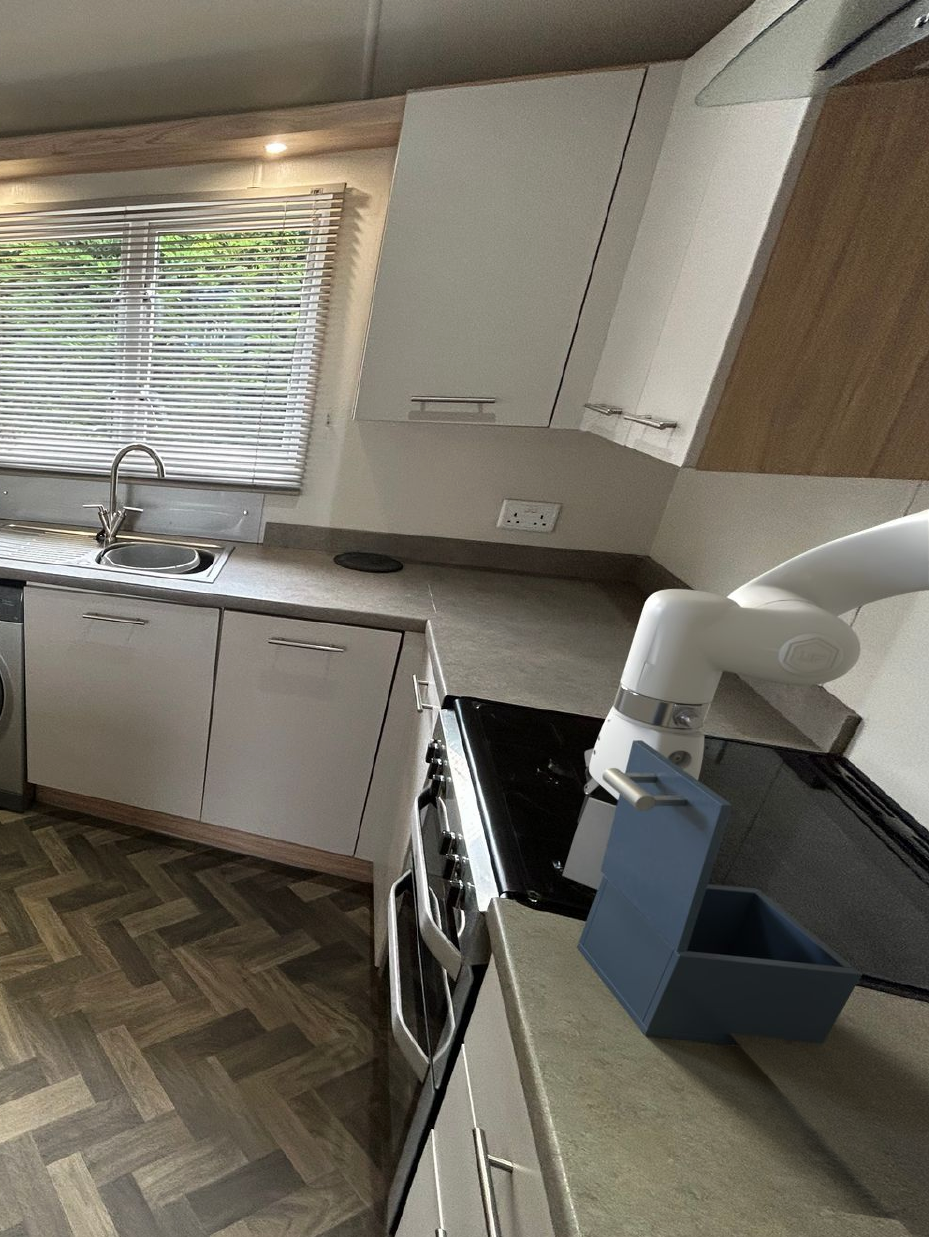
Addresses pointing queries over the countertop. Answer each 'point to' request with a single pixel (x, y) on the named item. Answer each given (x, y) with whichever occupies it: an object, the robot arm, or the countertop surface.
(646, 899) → the bin lid
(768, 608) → the robot arm
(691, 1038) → the waste bin
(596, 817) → the grey rectangular block
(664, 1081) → the countertop surface
